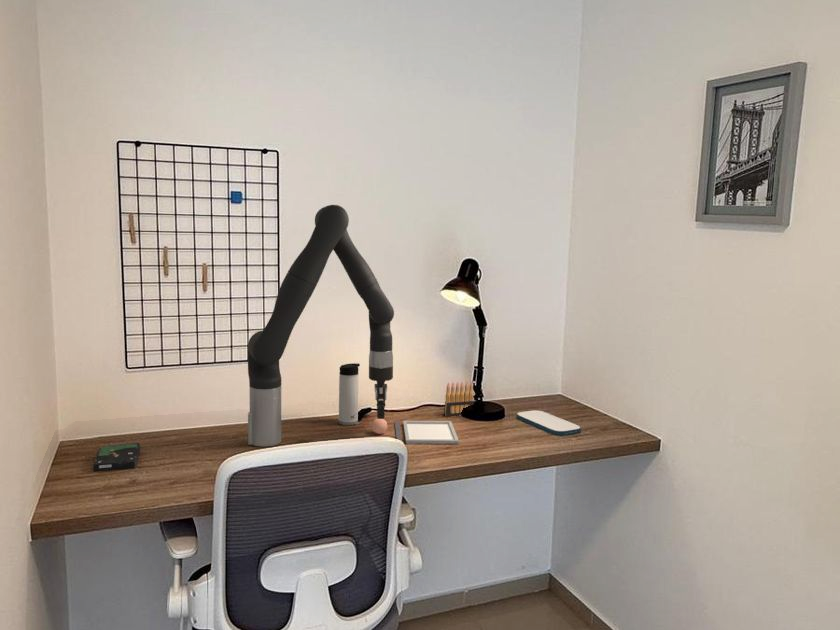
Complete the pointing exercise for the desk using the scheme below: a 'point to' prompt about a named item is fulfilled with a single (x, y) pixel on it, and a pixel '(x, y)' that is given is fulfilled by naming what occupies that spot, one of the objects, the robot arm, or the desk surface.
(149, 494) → the desk surface
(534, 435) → the desk surface
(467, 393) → the ammunition clip
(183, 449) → the desk surface
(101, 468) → the disk drive
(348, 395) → the travel mug
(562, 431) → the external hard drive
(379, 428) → the rubber ball
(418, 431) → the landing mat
